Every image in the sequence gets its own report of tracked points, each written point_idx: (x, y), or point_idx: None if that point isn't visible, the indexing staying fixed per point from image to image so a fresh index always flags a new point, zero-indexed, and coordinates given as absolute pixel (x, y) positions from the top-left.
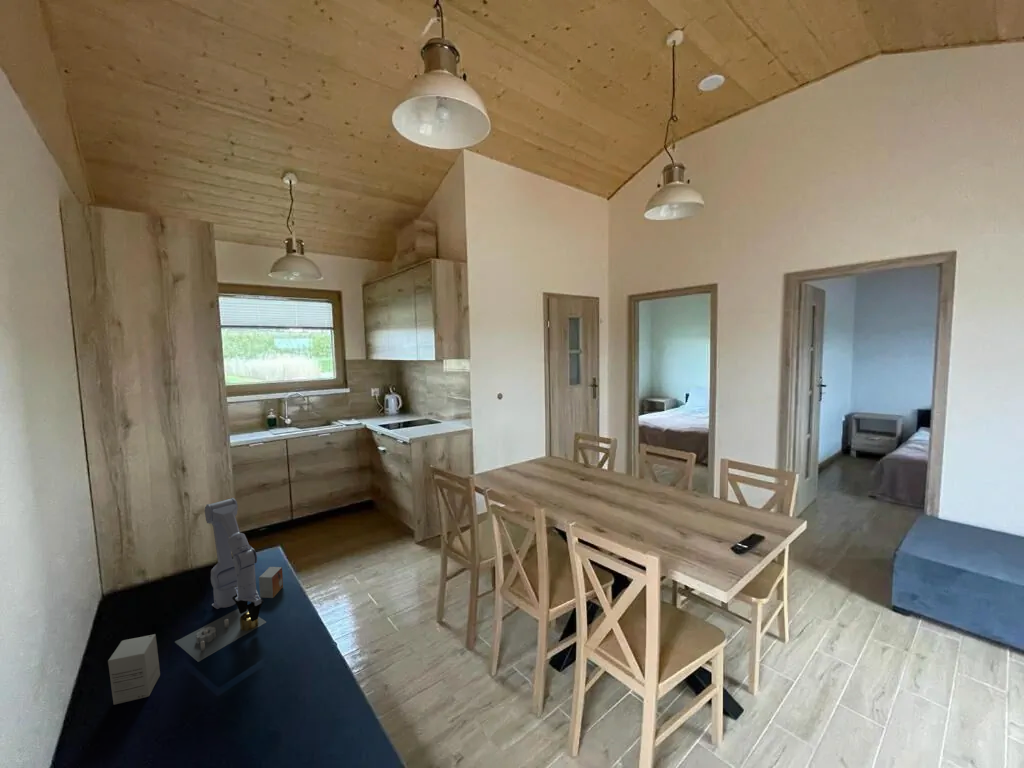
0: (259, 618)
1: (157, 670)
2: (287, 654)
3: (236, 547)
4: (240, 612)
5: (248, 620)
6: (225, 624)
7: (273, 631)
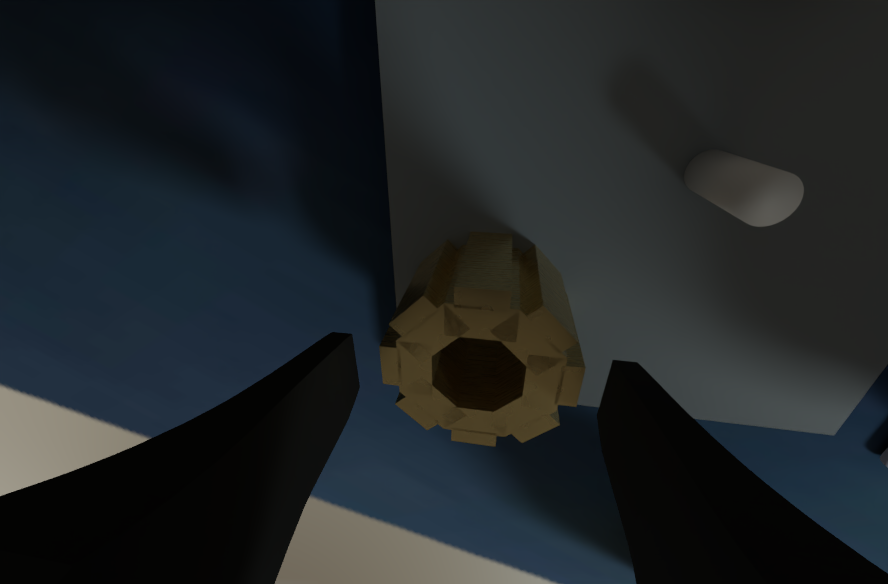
0: None
1: None
2: (19, 252)
3: None
4: (623, 374)
5: (390, 325)
6: (731, 163)
7: (311, 343)
